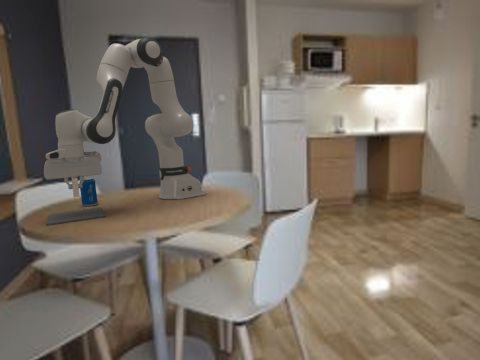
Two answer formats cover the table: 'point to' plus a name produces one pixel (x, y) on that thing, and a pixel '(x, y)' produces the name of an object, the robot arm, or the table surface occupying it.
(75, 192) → the tile
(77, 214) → the mat
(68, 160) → the robot arm
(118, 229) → the table surface
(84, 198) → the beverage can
